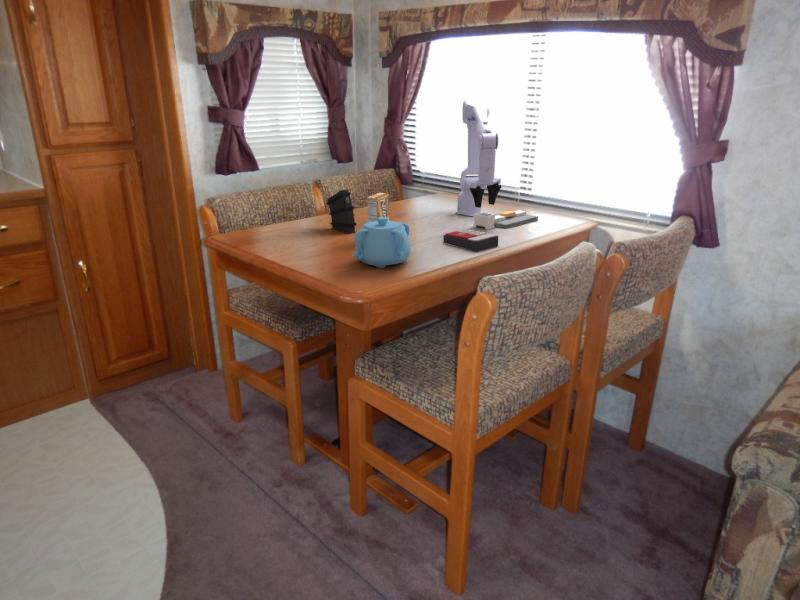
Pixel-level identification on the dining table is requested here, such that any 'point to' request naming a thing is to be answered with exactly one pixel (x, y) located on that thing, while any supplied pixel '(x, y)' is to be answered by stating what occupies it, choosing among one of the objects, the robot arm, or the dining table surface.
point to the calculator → (471, 240)
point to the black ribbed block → (342, 212)
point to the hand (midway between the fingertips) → (484, 205)
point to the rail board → (513, 219)
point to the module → (484, 220)
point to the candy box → (378, 206)
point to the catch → (508, 213)
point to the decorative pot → (382, 242)
